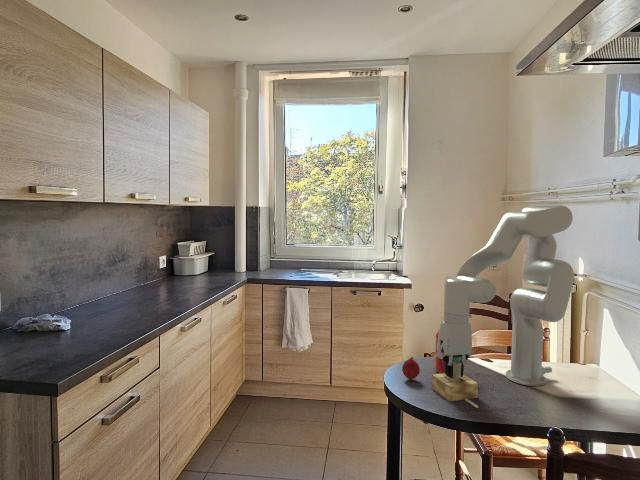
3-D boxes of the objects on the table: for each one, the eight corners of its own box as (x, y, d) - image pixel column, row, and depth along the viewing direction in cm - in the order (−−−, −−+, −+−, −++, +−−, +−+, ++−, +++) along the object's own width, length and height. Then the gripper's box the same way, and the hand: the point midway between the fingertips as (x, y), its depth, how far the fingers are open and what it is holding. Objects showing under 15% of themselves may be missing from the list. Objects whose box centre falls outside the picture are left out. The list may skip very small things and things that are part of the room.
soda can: (435, 367, 154) (437, 327, 153) (458, 370, 151) (459, 329, 150) (433, 374, 147) (434, 332, 146) (456, 377, 144) (458, 335, 143)
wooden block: (457, 384, 138) (458, 371, 137) (477, 397, 128) (478, 383, 128) (431, 388, 135) (431, 374, 134) (449, 401, 125) (450, 386, 125)
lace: (464, 400, 125) (464, 398, 125) (467, 400, 126) (467, 398, 126) (476, 408, 120) (476, 406, 120) (478, 408, 121) (479, 405, 121)
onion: (419, 384, 138) (420, 360, 137) (401, 382, 139) (402, 359, 139) (419, 377, 144) (419, 354, 143) (402, 376, 145) (402, 353, 144)
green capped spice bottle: (454, 387, 133) (455, 354, 133) (460, 391, 130) (461, 357, 130) (446, 388, 132) (447, 354, 132) (452, 392, 129) (453, 357, 129)
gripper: (470, 314, 136) (468, 369, 137) (426, 316, 131) (424, 374, 132) (486, 319, 129) (483, 377, 130) (440, 322, 124) (438, 383, 125)
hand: (454, 375), depth 131 cm, fingers closed on green capped spice bottle, 3 cm apart
